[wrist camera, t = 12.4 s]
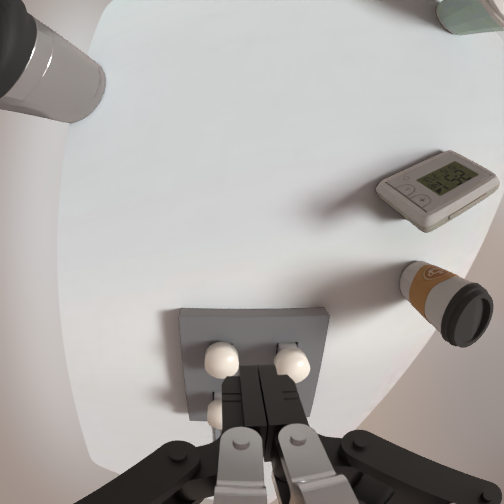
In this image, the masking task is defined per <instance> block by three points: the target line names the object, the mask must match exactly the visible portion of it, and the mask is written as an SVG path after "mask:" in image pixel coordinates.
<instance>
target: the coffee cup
mask: <svg viewBox="0 0 504 504" xmlns="http://www.w3.org/2000/svg"><path fill="white" fill-rule="evenodd" d="M400 290H401V293H402V295H403V296H404V297H405V298H406V299H407V300H408V301H409V302H410V303H411V305H412V306H413V307H414V308H415V309H416V310H417V311H418V312H419V313H420V314H421V315H422V316H423V317H424V318H425V319H426V320H427V321H428V322H429V323H430V324H432V325H433V326H434V327H435V328H436V329H437V330H438V331H439V332H440V333H441V334H442V337H443V338H444V340H445V341H447V342H449V343H450V344H451V345H454V346H459V347H468V346H470V345H472V344H473V343H475V342H476V341H477V340H478V339H479V338H480V337H481V336H482V334H483V333H484V332H485V330H486V328H487V327H488V325H489V323H490V320H491V317H492V313H493V300H492V298H491V297H490V295H489V294H488V292H487V290H485V289H484V288H483V287H482V286H481V285H479V284H478V283H472V282H470V281H468V280H465V279H463V278H461V277H459V276H458V275H456V274H453V273H451V272H449V271H446V270H444V269H442V268H439V267H437V266H434V265H431V264H429V263H426V262H423V261H417V262H413V263H411V264H410V265H408V266H407V267H406V268H405V270H404V271H403V273H402V275H401V278H400Z"/></svg>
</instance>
